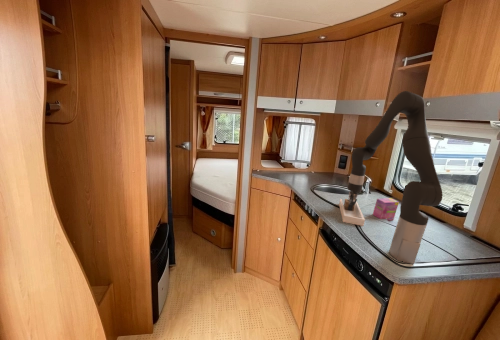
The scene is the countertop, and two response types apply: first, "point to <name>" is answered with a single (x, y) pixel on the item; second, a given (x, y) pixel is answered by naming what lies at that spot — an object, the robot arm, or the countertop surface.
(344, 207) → the block
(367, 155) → the robot arm
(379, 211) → the box
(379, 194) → the countertop surface
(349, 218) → the trough
